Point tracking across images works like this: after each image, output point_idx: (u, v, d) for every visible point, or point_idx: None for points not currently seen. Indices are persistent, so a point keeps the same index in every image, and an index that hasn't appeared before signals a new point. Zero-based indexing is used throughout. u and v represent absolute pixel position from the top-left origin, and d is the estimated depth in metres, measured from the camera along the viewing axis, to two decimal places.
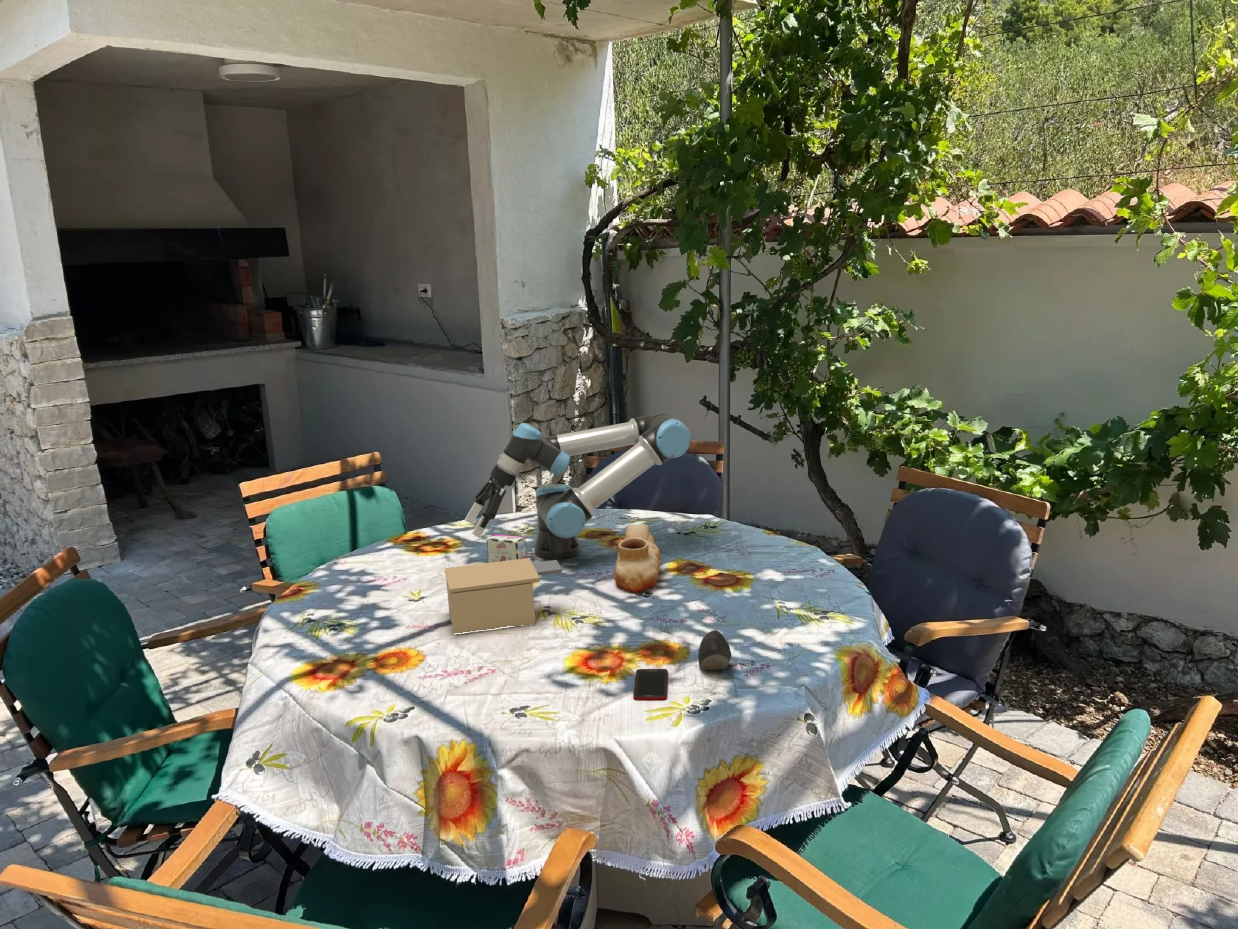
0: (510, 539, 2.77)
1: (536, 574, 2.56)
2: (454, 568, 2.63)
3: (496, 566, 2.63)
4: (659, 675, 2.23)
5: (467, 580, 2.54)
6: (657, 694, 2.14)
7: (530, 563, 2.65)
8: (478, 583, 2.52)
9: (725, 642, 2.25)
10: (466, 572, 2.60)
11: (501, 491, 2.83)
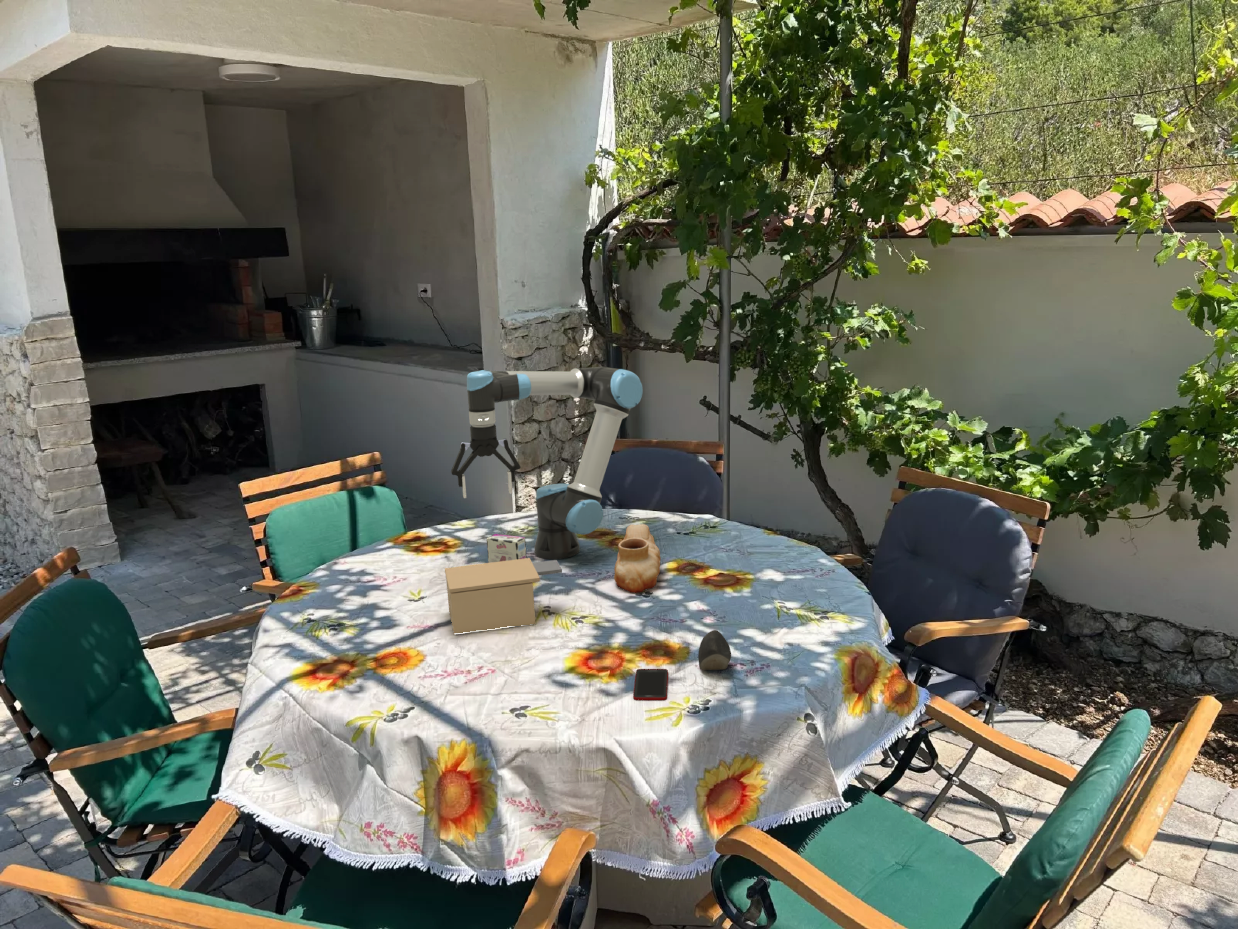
0: (510, 539, 2.77)
1: (536, 574, 2.56)
2: (454, 568, 2.63)
3: (496, 566, 2.63)
4: (659, 675, 2.23)
5: (467, 580, 2.54)
6: (657, 694, 2.14)
7: (530, 563, 2.65)
8: (478, 583, 2.52)
9: (725, 642, 2.25)
10: (466, 572, 2.60)
11: None
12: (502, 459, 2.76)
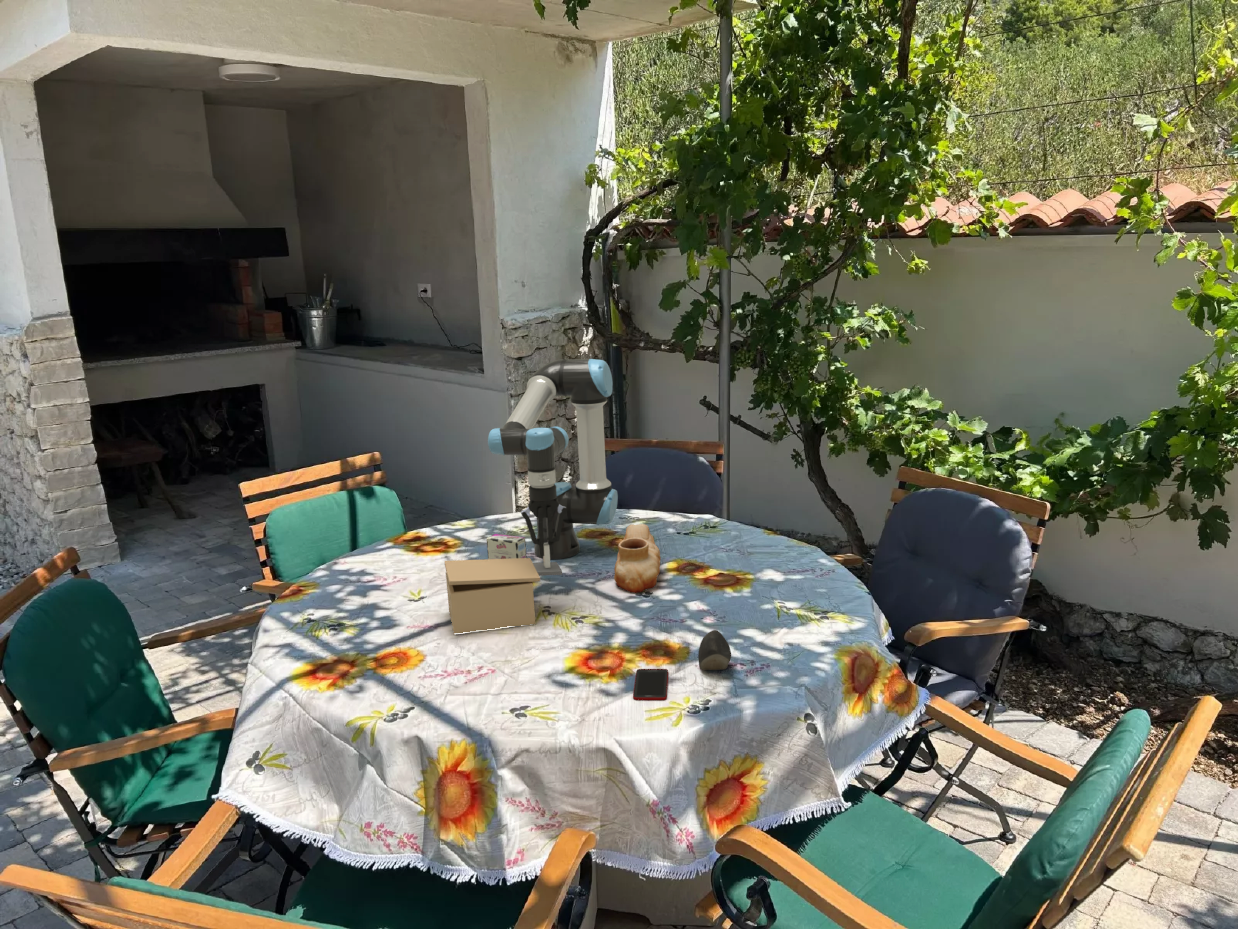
0: (510, 539, 2.77)
1: (536, 574, 2.56)
2: (454, 561, 2.63)
3: (496, 563, 2.63)
4: (659, 675, 2.23)
5: (467, 574, 2.53)
6: (657, 694, 2.14)
7: (530, 563, 2.65)
8: (478, 577, 2.51)
9: (725, 642, 2.25)
10: (466, 566, 2.60)
11: None
12: (550, 527, 2.59)
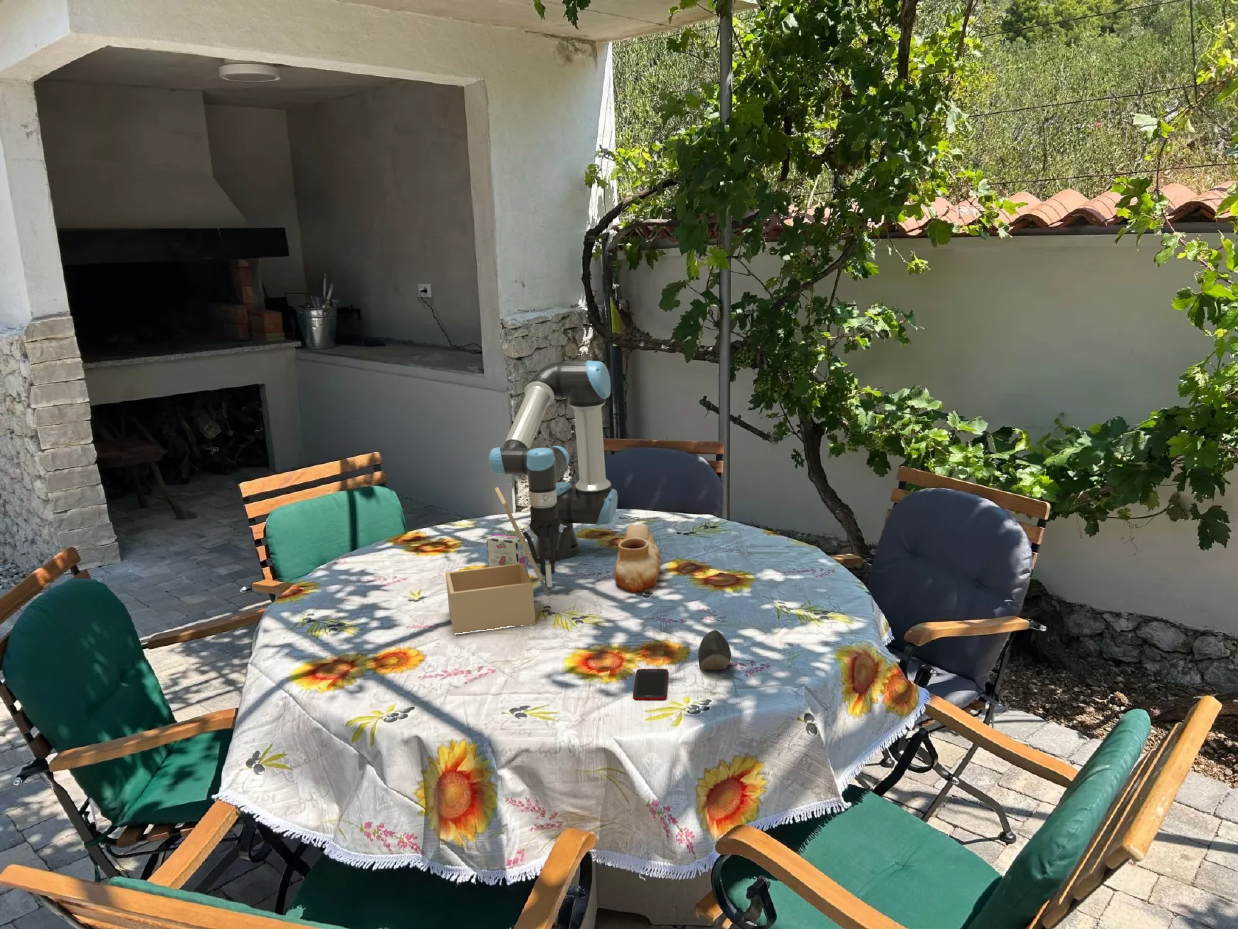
0: (510, 539, 2.77)
1: None
2: None
3: None
4: (659, 675, 2.23)
5: None
6: (657, 694, 2.14)
7: None
8: None
9: (725, 642, 2.25)
10: None
11: None
12: (551, 546, 2.60)
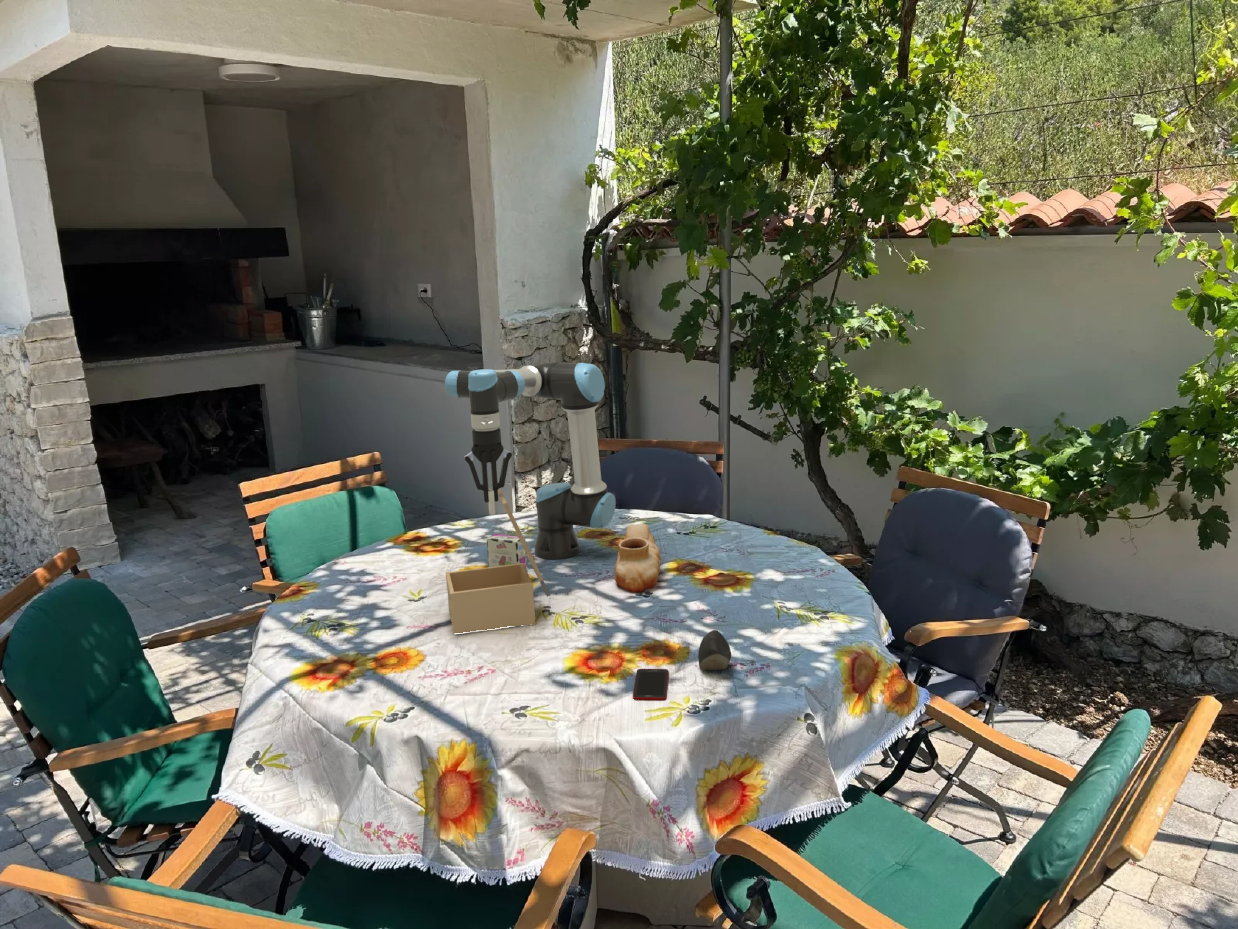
0: (510, 539, 2.77)
1: None
2: None
3: None
4: (659, 675, 2.23)
5: None
6: (657, 694, 2.14)
7: None
8: None
9: (725, 642, 2.25)
10: None
11: None
12: (494, 472, 2.51)
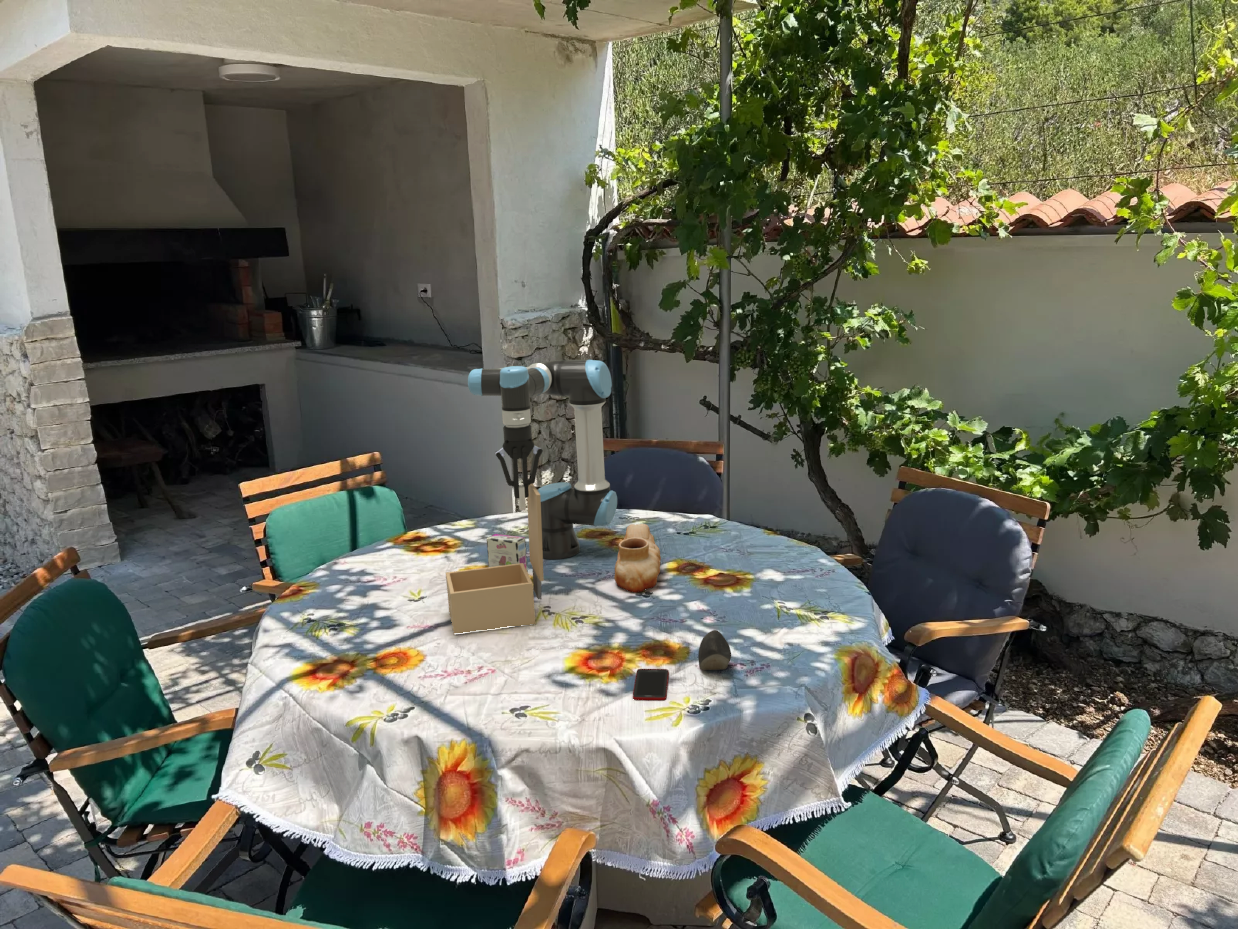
0: (510, 539, 2.77)
1: None
2: None
3: None
4: (659, 675, 2.23)
5: None
6: (656, 694, 2.14)
7: None
8: None
9: (725, 642, 2.25)
10: None
11: None
12: (525, 468, 2.53)
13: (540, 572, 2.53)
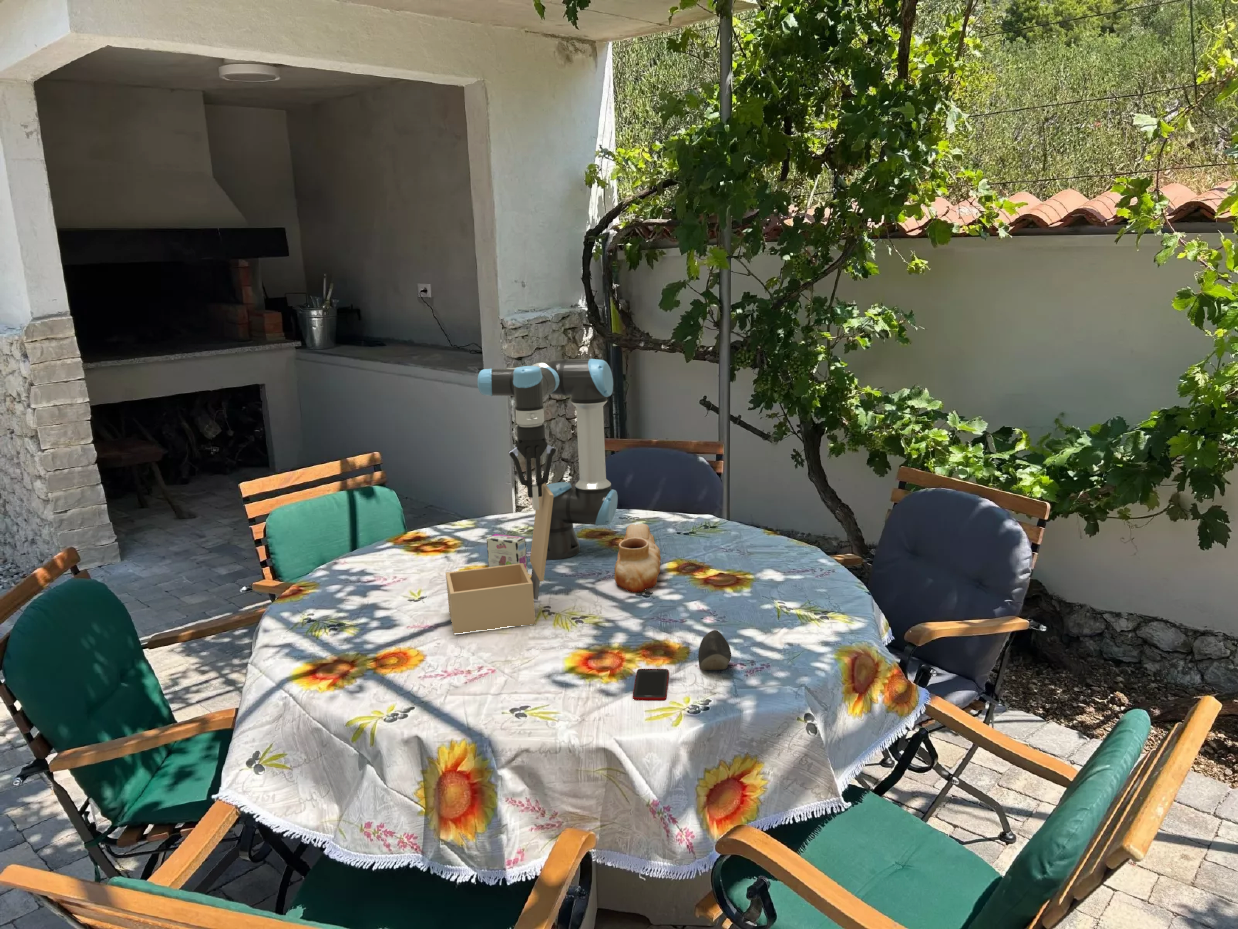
0: (510, 539, 2.77)
1: None
2: None
3: None
4: (659, 675, 2.23)
5: None
6: (656, 694, 2.14)
7: None
8: None
9: (725, 642, 2.25)
10: None
11: None
12: (538, 468, 2.54)
13: (541, 572, 2.53)
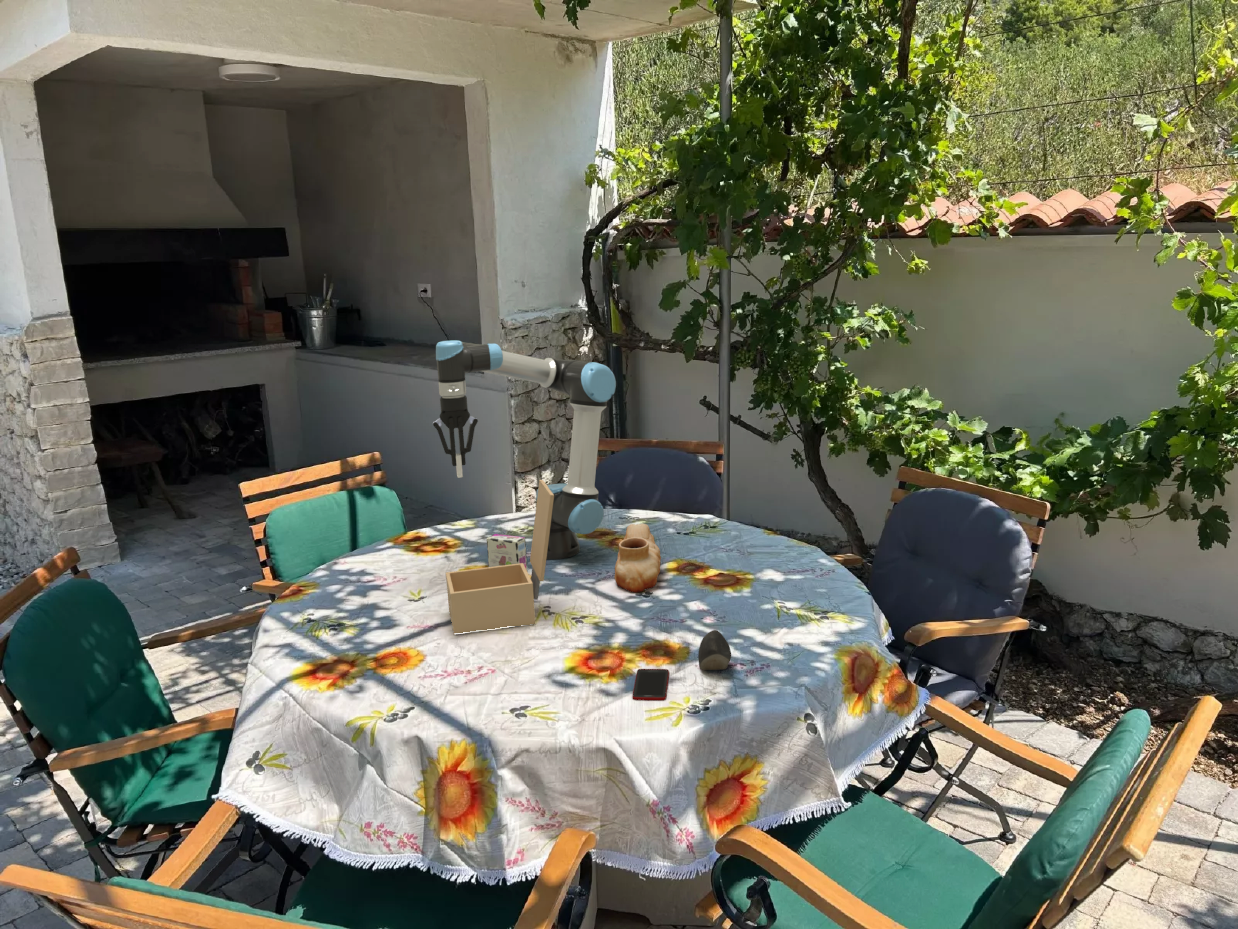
0: (510, 539, 2.77)
1: None
2: None
3: None
4: (660, 675, 2.23)
5: None
6: (656, 694, 2.14)
7: None
8: None
9: (725, 642, 2.25)
10: None
11: None
12: (461, 437, 2.68)
13: (541, 572, 2.53)
